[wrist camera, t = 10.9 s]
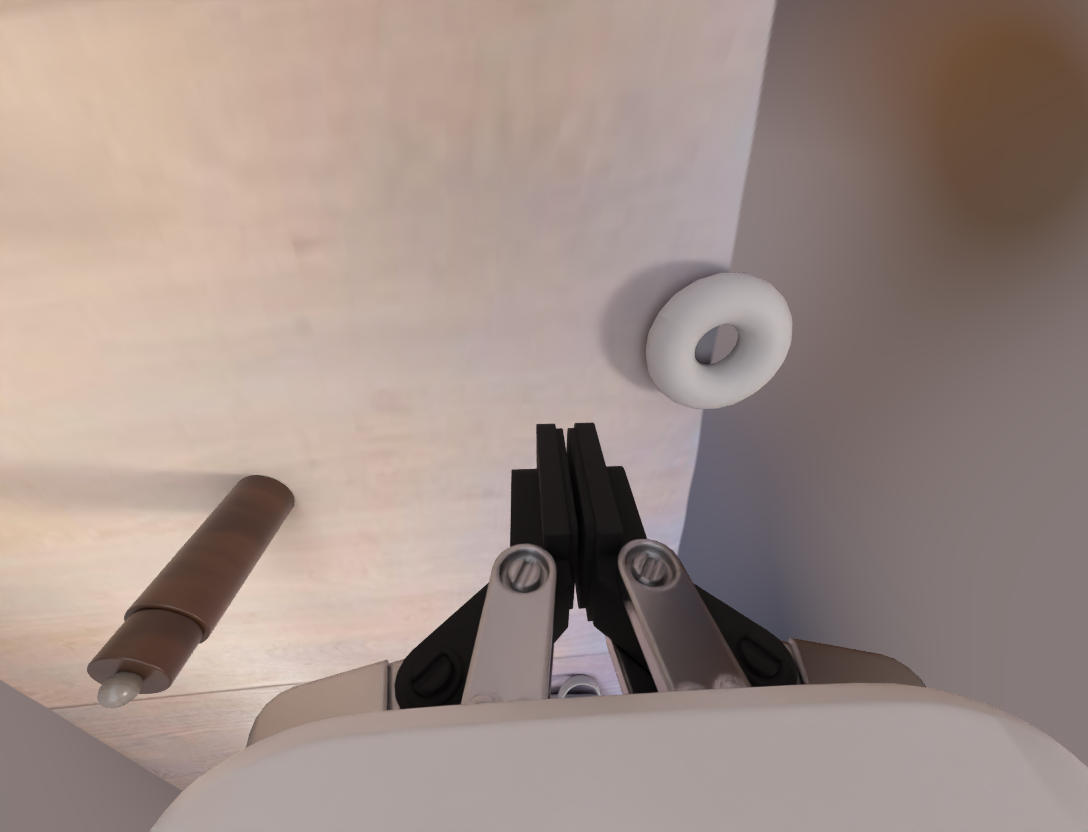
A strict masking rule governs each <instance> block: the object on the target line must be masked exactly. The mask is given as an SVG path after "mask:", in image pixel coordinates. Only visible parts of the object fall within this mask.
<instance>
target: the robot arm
mask: <svg viewBox="0 0 1088 832" xmlns="http://www.w3.org/2000/svg"><path fill="white" fill-rule="evenodd" d="M536 435H537V469H517V470H512V477H511V532H510V547H509V548H507V549H506V550H504V551H503V552H502V553H501V554H500V555H499V556H498V557H497V558H496V560H495V563H494V565H493V567H492V572H491V576H490V580H489V583H488V584H487V585H485V586H484V587H483V588H482V589H481V590H480V591H479V592H478V593H476V594H475V595H474V596H473V597H472V598H471V599H470V600H469V601H467V602H466V603H465V604H464V605H463V606H462V607H461V608H460V609H458V610H457V611H456V612H455V613H454V614H453V615H452V616H451V617H449V618H448V619H447V620H446V621H445V622H444V623H443V624H442V625H440V626H439V627H438V628H437V629H436V630H435V631H434V632H433V633H431V634H430V635H429V636H428V637H427V638H426V639H425V640H423V641H422V642H421V643H420V644H419V645H418V646H417V647H416V648H414V649H413V650H412V651H411V652H410V654H409V655H408V656H407V657H406V658H405V659H403V660H400V661H396V662H393V663H389V662H388V660H384V661H381V662H378V663H374V664H371V665H367V666H364V667H360V668H357V669H354V670H350V671H347V672H343V673H340V674H337V675H333V676H330V677H326V678H323V679H319V680H316V681H313V682H309V683H306V684H302V685H299V686H295V687H292V688H290V689H288V690H286V691H284V692H282V693H280V694H278V695H277V696H276V697H275V698H274V699H272V700H271V701H270V702H269V703H267V704H266V706H265V707H264V708H263V710H262V711H261V712H260V714H259V715H258V716H257V717H256V719H255V722H254V724H253V726H252V729H251V731H250V734H249V738H248V742H247V746H246V748H245V749H243V750H241V751H239V752H237V753H235V754H233V755H232V756H230V757H228V758H227V759H225V760H224V761H222V762H220V763H219V764H217V765H216V766H214V767H213V768H211V769H209V770H208V771H207V772H205V773H204V774H203V775H202V776H200V777H199V778H198V779H196V780H195V781H194V782H192V783H191V784H190V785H189V786H188V787H187V788H186V789H185V790H184V791H183V792H182V793H181V794H180V795H179V796H178V797H177V798H176V799H175V800H174V801H173V802H172V804H171V805H170V806H169V807H168V808H167V809H166V810H165V812H164V813H163V814H162V816H161V817H160V818H159V819H158V821H157V822H156V824H155V825H154V826H153V828H152V829H151V830H150V832H1088V768H1087V767H1086V766H1085V765H1084V764H1083V763H1082V762H1080V761H1079V760H1078V759H1077V758H1076V757H1075V756H1074V755H1072V754H1071V753H1070V752H1069V751H1068V750H1066V749H1065V748H1064V747H1063V746H1061V745H1060V744H1059V743H1057V742H1056V741H1055V740H1053V739H1052V738H1051V737H1050V736H1048V735H1046V734H1045V733H1044V732H1042V731H1040V730H1038V729H1037V728H1035V727H1034V726H1032V725H1030V724H1028V723H1027V722H1025V721H1023V720H1021V719H1019V718H1017V717H1015V716H1013V715H1011V714H1008V713H1006V712H1004V711H1001V710H999V709H997V708H994V707H992V706H989V705H986V704H983V703H981V702H978V701H975V700H972V699H969V698H967V697H963V696H960V695H956V694H952V693H949V692H945V691H941V690H937V689H931V688H927V687H926V686H925V684H924V683H923V681H922V680H921V679H920V678H919V677H918V676H917V675H916V674H915V673H914V672H913V671H912V670H911V669H909V668H908V667H907V666H905V665H904V664H902V663H900V662H899V661H897V660H895V659H894V658H890V657H888V656H884V655H882V654H877V653H871V652H865V651H860V650H855V649H849V648H843V647H838V646H832V645H827V644H821V643H815V642H810V641H804V640H799V639H793V638H791V639H790V640H789V641H788V642H785V641H780V640H779V639H778V638H777V637H775V636H774V635H773V634H771V633H770V632H769V631H767V630H766V629H764V628H763V627H761V626H759V625H758V624H756V623H755V622H753V621H752V620H750V619H749V618H747V617H745V616H744V615H742V614H741V613H739V612H737V611H736V610H734V609H733V608H731V607H730V606H728V605H727V604H725V603H723V602H722V601H720V600H719V599H717V598H715V597H714V596H712V595H711V594H709V593H708V592H706V591H705V590H703V589H701V588H700V587H698V586H697V585H695V584H694V583H693V582H692V581H691V579H690V577H689V575H688V574H687V572H686V570H685V568H684V566H683V565H682V563H681V561H680V559H679V558H678V557H677V555H676V554H675V553H674V551H672V550H671V549H670V548H669V547H667V546H666V545H664V544H662V543H660V542H658V541H655V540H650V539H647V537H646V534H645V531H644V528H643V525H642V522H641V519H640V516H639V513H638V510H637V507H636V504H635V500H634V497H633V494H632V491H631V488H630V485H629V482H628V479H627V476H626V473H625V470H624V468H623V467H622V466H610V467H606V465H605V461H604V457H603V454H602V450H601V446H600V443H599V439H598V435H597V432H596V428H595V424H594V423H575V425H574V428H568V431H567V452H566V447H565V441H564V434H563V429H562V428H560V429H556V426H555V424H537V426H536ZM575 586H576V594H577V601H578V607H579V609H581V608H586V612H587V619H588V621H593V624H594V626H595V627H596V628H597V629H598V630H600V631H601V632H602V633H603V634H604V635H605V638H606V644H607V647H608V650H609V654H610V657H611V660H612V663H613V666H614V669H615V672H616V675H617V678H618V681H619V684H620V687H621V691H622V694H623V695H607V696H590V697H574V698H557V699H550V694H551V681H552V667H553V653H554V643H555V642H556V640H557V639H558V638H559V637H560V636H561V635H562V634H563V632H564V631H565V630H566V629H567V628H568V620H569V609H573V599H574V587H575Z"/></svg>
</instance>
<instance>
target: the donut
mask: <svg viewBox="0 0 1088 832" xmlns="http://www.w3.org/2000/svg"><path fill="white" fill-rule="evenodd" d="M719 325H732V326H734V327H735V328H736V329H737V331H738V340H737V343H736V346H735V347H734V349H733V350H732V352H731V353H730V354H729V355H728V356H727V357H725V358H724V359H722V360H721V361H719V362H717V363H714V364H710V365H703V364H700V363H698V362H697V361H696V359H695V353H694V352H695V347H696V345H697V343H698V342H699V340H700V338H701V337H702V336H703V335H704V334H705V333H706V332H708V331H709V330H711V329H713V328H714V327H716V326H719ZM791 334H792V317H791V314H790V311H789V309H788V306H787V303H786V300H785V299H784V297H782V295H781V294H780V293H779V292H778V291H777V290H776V289H775V288H774V287H773V286H772V285H771V284H770V283H769V282H768V281H765V280H763V279H760V278H757V277H755V276H753V275H750V274H747V273H718V274H715V275H711V276H708V277H705V278H701V279H698V280H696V281H695V282H693V283H691V284H690V285H688V286H687V287H685V288H684V289H682V290H680V291H679V292H677V293H676V294H675V295H674V296H673V297H672V298H671V299H670V300H669V301H668V302H667V304H666V305H665V306H664V307H663V308H662V309H661V310H660V311H659V313H658V315H657V317H656V319H655V321H654V323H653V325H652V326H651V328H650V330H649V333H648V339H647V344H646V350H645V355H646V360H647V366H648V372H649V375H650V377H651V378H652V380H653V382H654V383H655V385H656V387H657V388H658V390H659V391H660V392H662V393H663V394H664V395H666V396H667V397H668V398H670V399H671V400H672V401H674V402H675V403H678V404H681V405H684V406H688V407H691V408H695V409H716V408H720V407H724V406H728V405H732V404H735V403H737V402H739V401H741V400H743V399H745V398H746V397H748V396H750V395H752V394H754V393H755V392H757V391H758V390H759V389H760V388H761V387H762V386H764V385H765V384H766V383H767V382H768V381H769V380H770V379H771V378H772V377H773V376H774V374H775V373H776V372H777V370H778V369H779V367H780V366H781V365H782V363H783V362H784V360H785V357H786V354H787V352H788V349H789V346H790V344H791V337H792V335H791Z"/></svg>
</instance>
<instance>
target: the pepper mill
mask: <svg viewBox="0 0 1088 832" xmlns="http://www.w3.org/2000/svg"><path fill="white" fill-rule="evenodd" d="M293 506H294V497H293V495H292V493H291V491H290V490H289V489H288V488H287V487H286V486H285V485H283V484H282V483H280V482H279V481H277V480H274V479H272V478H269V477H264V476H250V477H246V478H244V479H242V480H240V481H239V482H238V483H237V484H236V486H235V487H234V488H233V489H232V490H231V491H230V493H229V494H228V495H227V496H226V497H225V498H224V499H223V501H222V502H221V503H220V504H219V505H218V506H217V508H216V509H215V510H214V511H213V512H212V513H211V514H210V516H209V517H208V518H207V519H206V520H205V521H204V523H203V524H202V525H201V526H200V527H199V528H198V529H197V531H196V532H195V533H194V534H193V535H192V536H191V538H190V539H189V540H188V541H187V542H186V543H185V544H184V546H183V547H182V548H181V549H180V550H179V551H178V553H177V554H176V555H175V556H174V557H173V558H172V559H171V561H170V562H169V563H168V564H167V565H166V566H165V568H164V569H163V570H162V571H161V572H160V573H159V575H158V576H157V577H156V578H155V579H154V580H153V581H152V583H151V584H150V585H149V586H148V587H147V588H146V590H145V591H144V592H143V593H142V594H141V595H140V596H139V598H138V599H137V600H136V601H135V602H134V603H133V605H132V606H131V607H130V608H129V609H128V610H127V612H126V613H125V616H124V620H125V622H124V623H123V624H122V626H121V627H120V628H119V629H118V630H117V631H116V633H115V634H114V635H113V636H112V637H111V638H110V640H109V641H108V642H107V643H106V644H105V646H104V647H103V648H102V649H101V650H100V651H99V653H98V654H97V655H96V656H95V657H94V658H93V660H92V661H91V662H90V663H89V665H88V667H87V672H88V674H89V675H90V676H91V677H92V678H93V679H94V680H95V681H97V682H98V683H100V684H102V686H101V687H100V689H99V692H98V701H99V703H100V704H101V705H102V706H103V707H106V708H117V707H121V706H123V705H125V704H127V703H129V702H130V701H132V700H133V699H134V698H135V697H136V696H137V695H138V694H151V693H158V692H161V691H164V690H166V689H167V688H169V687H170V686H171V684H172V683H173V681H174V680H175V678H176V677H177V675H178V674H179V672H180V671H181V669H182V668H183V666H184V665H185V663H186V662H187V660H188V659H189V657H190V656H191V654H192V653H193V651H194V650H195V648H196V647H197V645H198V644H200V643H202V642H204V641H205V640H206V639H207V638H208V637H209V636H210V634H211V633H212V631H213V630H214V628H215V626H216V625H217V623H218V622H219V620H220V619H221V617H222V616H223V614H224V613H225V611H226V610H227V608H228V606H229V605H230V603H231V602H232V600H233V599H234V597H235V596H236V594H237V593H238V591H239V590H240V588H241V586H242V585H243V583H244V582H245V580H246V579H247V577H248V576H249V574H250V573H251V571H252V569H253V568H254V566H255V565H256V563H257V562H258V560H259V559H260V557H261V556H262V554H263V553H264V551H265V549H266V548H267V546H268V545H269V543H270V542H271V540H272V539H273V537H274V536H275V534H276V533H277V531H278V529H279V528H280V526H281V525H282V523H283V522H284V520H285V519H286V517H287V516H288V514H289V512H290V511H291V509H292V508H293Z"/></svg>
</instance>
